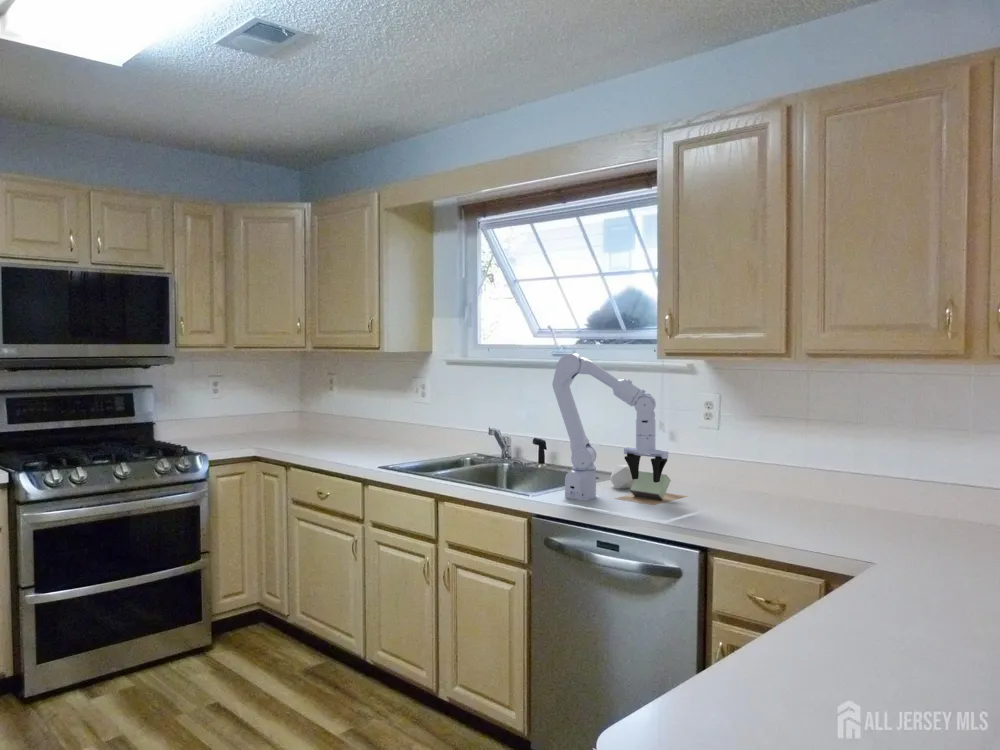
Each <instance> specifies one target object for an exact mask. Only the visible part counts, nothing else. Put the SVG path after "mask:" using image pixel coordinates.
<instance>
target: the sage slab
mask: <svg viewBox="0 0 1000 750" xmlns="http://www.w3.org/2000/svg"><path fill="white" fill-rule="evenodd" d="M671 481H672V480H671V479H670V477H669V476H668V475H667V474H664V473H661V477H660V482H656V483H655V482H654V481H653V472H648V471H640V470H639V476H638V479H635V480H634V482H633V485H632V487H631V489H629V492H630V493H631V494H633V495H634V496H638V497H645V498H651V499H657V500H663V498H664V495H665V493H667V491H668V488H669V487H670V483H671Z"/></svg>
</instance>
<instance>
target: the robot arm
mask: <svg viewBox="0 0 1000 750" xmlns="http://www.w3.org/2000/svg"><path fill="white" fill-rule="evenodd" d="M578 375H589V376H591V377H593V378H595V379H596V380H598V381H600V382H601V383H602V384H605V385H606V386H608V387H609V388H611V389H612V394H613V396H615V397H616V398H618V399H619V400H621V401H623V403H626V404H627V405H628V406H630V407H634V409H635V411H636V419H635V447H629V446H628V447H627V446H626V447H623V455H625V456H624V460H625V462H626V465H628V466H629V468H630V472H631V475H632V479H638V476H639V471H640V470H639V468H640V461H641V457H650V458H651V459H650V462H651V465H652V466H651V467H652V473H653V481H654V482H655V483H656V482H660V477H661V474H663V473H662V472H663V470H664V467H665V466H666V464H667V462H668V459H669V451H666V450H661V449H656V419H655V418H656V412H655V408H656V407H657V401H656V398H654V397H653V396H652V395H651V394H650V393H646V390H644V389H640V388H639V387H638V386H636V385H634V384H633V381H632V380H630V379H628V380H627V379H626V378H622V379H618V378H616V377H615V376H614V375H612V374H611V373H609V372H608V371H607V370H605V369H603V368H602V367H601V366H599V365H598V364H597V363H595V362H594V361H591V360H590V359H589V358H586V357H582V356H581V354H578V353H576V352H575V353H565V354H563V355H562V356H561V357H560V358H559V360H558V362H557V363H556V365H555V371H554V374H553V380H552V383H551V384H552V389H553V392H554V395H555V398H556V401H557V404H558V408H559V410H560V414H561V417H562V420H563V423H564V425H565V429H566V432H567V435H568V437H569V441H570V443H569V444H570V450H571V457H570V458H571V459H570V460H571V464H572V466H571V470H570V471H568V472H567V473H566V475H565V477H564V496H563V498H565V499H566V498H567V499H573V500H578V501H586V500H591V499H596V498H600V497H602V495H599V494H597V467H596V465H595V464H594V462H595V461H596V459H597V451H596V450H595V448H594V447H593V446H592V445H591V443H590V440H589V438H588V437H587V435H586V432H585V430H584V427H583V423H582V420H581V417H580V414H579V412H578V409H577V405H576V402H575V399H574V395H573V393H572V390H571V387H570V386H571V385H572V383H573V381H574V379H575V377H577V376H578Z"/></svg>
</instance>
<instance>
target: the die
mask: <svg viewBox="0 0 1000 750" xmlns="http://www.w3.org/2000/svg"><path fill="white" fill-rule="evenodd" d="M609 480H610V481H611V484H612V485H613V487H614V489H617V490H618V489H619V490H620V489H622V490H623V489H624V490H630V489H631V487H632V485H633V482H634V480H635V479H632V475H631V472H630V468H629V466H628V464H614V466H613V470H612V472H611V475H610V478H609Z"/></svg>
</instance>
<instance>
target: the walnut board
mask: <svg viewBox="0 0 1000 750" xmlns="http://www.w3.org/2000/svg"><path fill="white" fill-rule="evenodd" d="M686 497H688V495H683V494H682V495H681V494H676V493H668V492H666V493H665V495H664V498H663V500H657V499H651V498H645V497H638V496H634V495H633V494H632V493H631V494H627V495H624V496H619V497H614V499H615V500H621V501H626V502H632V503H638V504H644V505H649V506H650V505H651V506H655V505H660V504H663V503H668V502H672V501H675V500H679V499H683V498H686Z"/></svg>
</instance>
